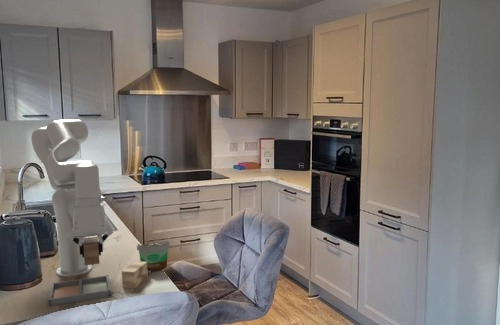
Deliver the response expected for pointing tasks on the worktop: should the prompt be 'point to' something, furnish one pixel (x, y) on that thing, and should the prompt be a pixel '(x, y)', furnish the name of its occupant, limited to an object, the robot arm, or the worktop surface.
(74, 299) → the slot organizer
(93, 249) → the walnut block
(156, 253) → the food container
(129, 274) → the pale oak block
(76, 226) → the robot arm
